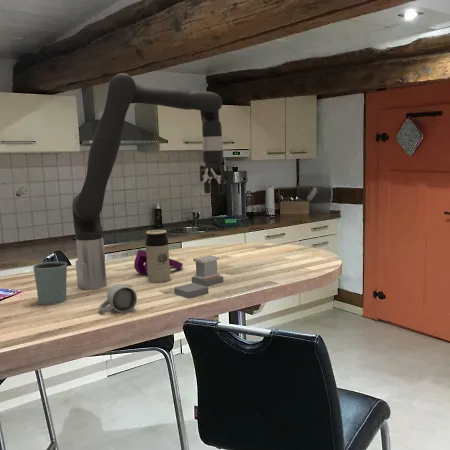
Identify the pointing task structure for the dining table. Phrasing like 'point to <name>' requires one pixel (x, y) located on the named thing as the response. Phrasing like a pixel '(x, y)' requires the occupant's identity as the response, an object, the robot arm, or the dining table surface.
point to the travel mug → (157, 256)
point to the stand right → (208, 280)
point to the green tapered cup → (51, 282)
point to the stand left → (191, 290)
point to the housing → (206, 267)
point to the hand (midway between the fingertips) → (214, 193)
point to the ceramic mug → (119, 299)
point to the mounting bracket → (142, 259)
